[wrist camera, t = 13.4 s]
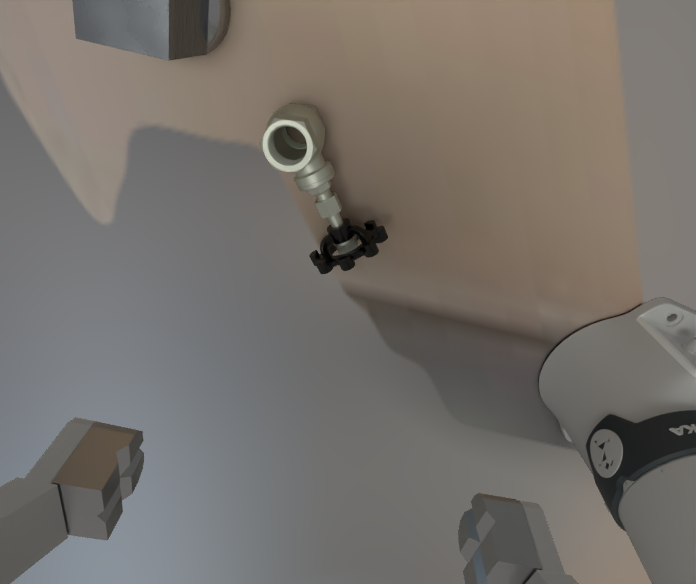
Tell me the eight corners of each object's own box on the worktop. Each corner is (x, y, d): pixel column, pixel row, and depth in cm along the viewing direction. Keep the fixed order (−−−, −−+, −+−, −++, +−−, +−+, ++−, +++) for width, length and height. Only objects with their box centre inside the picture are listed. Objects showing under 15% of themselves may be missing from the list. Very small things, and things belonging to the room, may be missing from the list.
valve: (252, 118, 35) (318, 248, 40) (228, 136, 29) (309, 284, 34) (328, 81, 33) (387, 221, 38) (319, 92, 27) (389, 255, 33)
